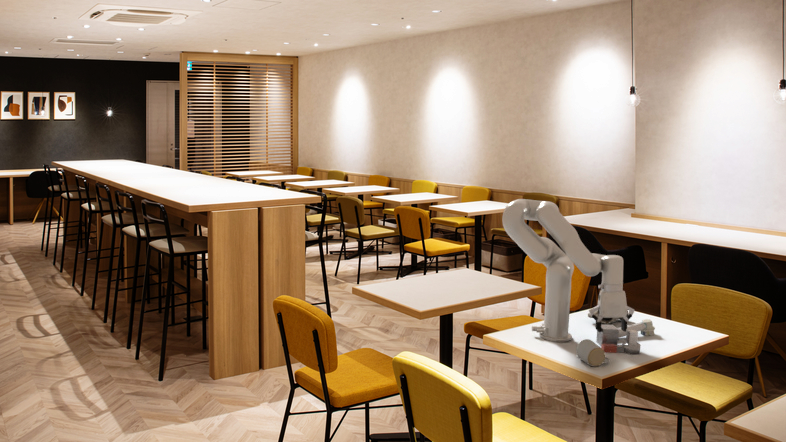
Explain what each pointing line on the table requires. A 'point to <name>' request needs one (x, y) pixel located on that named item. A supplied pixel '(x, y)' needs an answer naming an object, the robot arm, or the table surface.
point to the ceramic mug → (591, 353)
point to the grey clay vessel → (606, 320)
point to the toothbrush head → (639, 328)
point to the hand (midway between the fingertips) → (611, 330)
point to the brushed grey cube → (607, 335)
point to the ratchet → (625, 344)
